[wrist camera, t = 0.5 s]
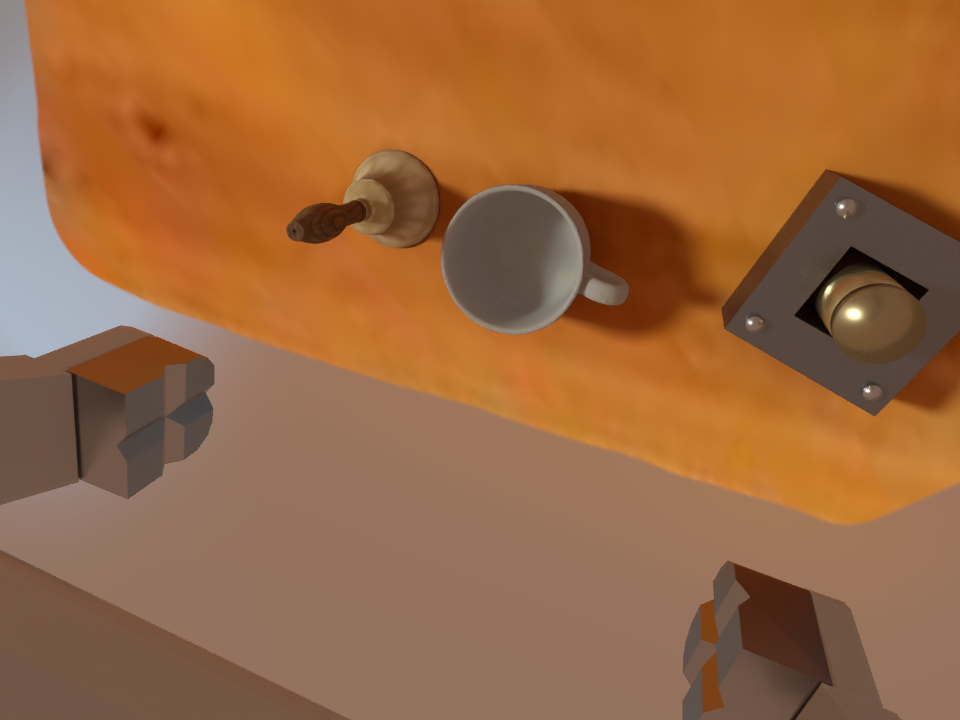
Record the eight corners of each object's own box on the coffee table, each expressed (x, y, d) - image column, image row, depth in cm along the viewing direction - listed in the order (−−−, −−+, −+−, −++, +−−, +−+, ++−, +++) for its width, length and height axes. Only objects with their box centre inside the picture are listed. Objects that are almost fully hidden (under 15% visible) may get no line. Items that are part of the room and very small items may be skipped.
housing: (825, 169, 44) (843, 177, 39) (982, 255, 43) (1020, 275, 38) (721, 308, 49) (724, 331, 44) (857, 387, 48) (876, 419, 43)
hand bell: (390, 127, 52) (278, 135, 38) (459, 201, 52) (373, 237, 38) (335, 197, 56) (214, 229, 42) (399, 266, 56) (302, 319, 42)
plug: (836, 239, 45) (871, 272, 36) (896, 273, 45) (947, 314, 36) (792, 294, 47) (815, 337, 38) (848, 326, 47) (885, 378, 38)
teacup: (452, 266, 55) (417, 290, 48) (506, 150, 50) (475, 158, 43) (591, 345, 54) (577, 382, 46) (660, 234, 49) (655, 256, 41)
